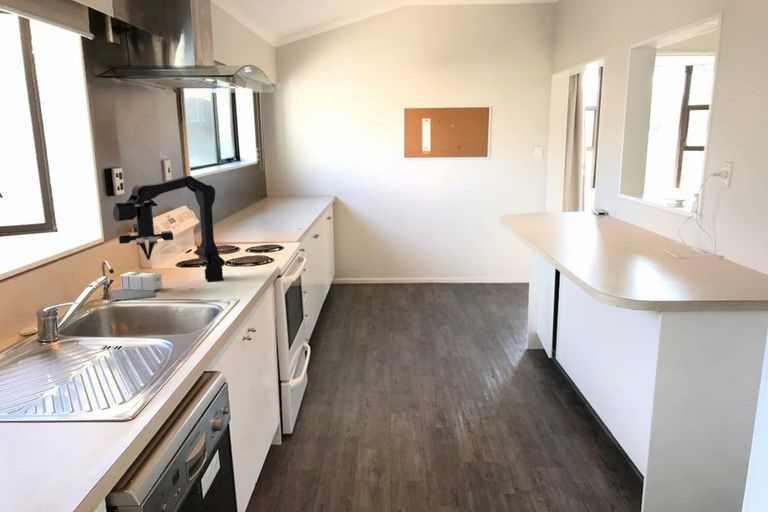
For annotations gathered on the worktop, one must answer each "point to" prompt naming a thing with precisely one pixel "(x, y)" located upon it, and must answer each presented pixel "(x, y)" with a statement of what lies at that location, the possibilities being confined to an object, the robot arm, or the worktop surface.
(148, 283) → the syrup box
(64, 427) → the worktop surface
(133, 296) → the mat
